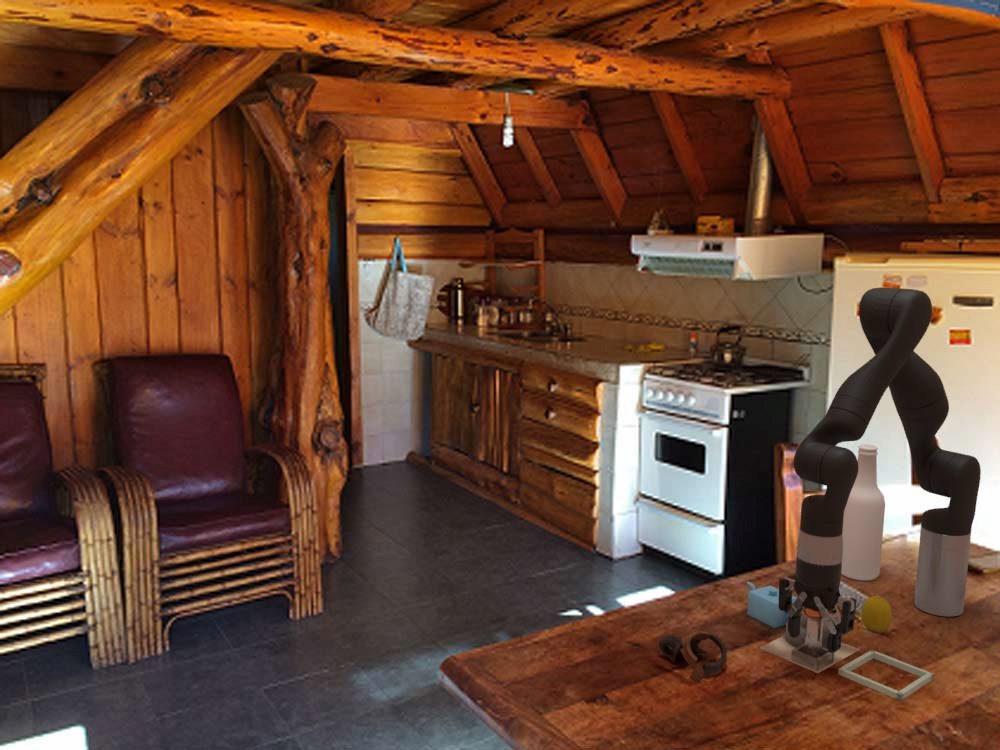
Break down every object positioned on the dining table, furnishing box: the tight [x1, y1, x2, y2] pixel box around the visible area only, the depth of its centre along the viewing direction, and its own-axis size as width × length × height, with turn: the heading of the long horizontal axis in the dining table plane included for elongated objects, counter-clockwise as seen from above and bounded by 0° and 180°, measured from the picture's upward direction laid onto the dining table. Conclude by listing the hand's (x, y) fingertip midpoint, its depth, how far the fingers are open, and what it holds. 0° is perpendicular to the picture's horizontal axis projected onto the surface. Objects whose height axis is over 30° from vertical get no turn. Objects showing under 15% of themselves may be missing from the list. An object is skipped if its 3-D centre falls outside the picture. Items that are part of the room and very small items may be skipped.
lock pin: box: [803, 606, 824, 658], centre depth 159 cm, size 4×4×10 cm
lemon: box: [860, 594, 893, 634], centre depth 173 cm, size 6×6×8 cm
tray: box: [837, 649, 935, 702], centre depth 155 cm, size 11×11×2 cm
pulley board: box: [759, 613, 861, 674], centre depth 165 cm, size 14×12×6 cm
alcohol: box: [841, 443, 886, 582], centre depth 201 cm, size 9×9×30 cm
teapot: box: [746, 581, 798, 629], centre depth 178 cm, size 12×6×8 cm, turn 31°
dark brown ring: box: [658, 630, 728, 684], centre depth 159 cm, size 12×10×8 cm
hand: (813, 643), depth 159 cm, fingers open, 7 cm apart
